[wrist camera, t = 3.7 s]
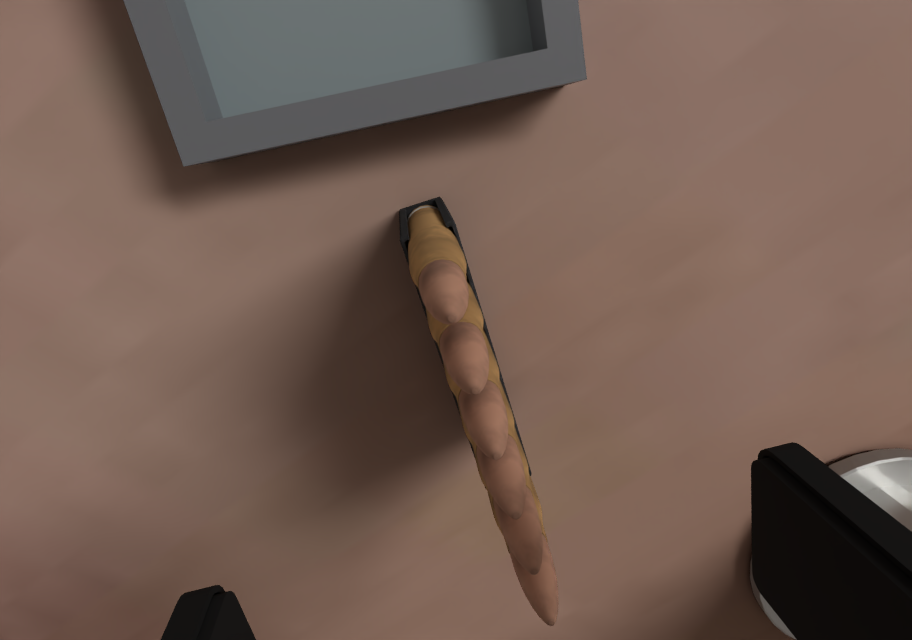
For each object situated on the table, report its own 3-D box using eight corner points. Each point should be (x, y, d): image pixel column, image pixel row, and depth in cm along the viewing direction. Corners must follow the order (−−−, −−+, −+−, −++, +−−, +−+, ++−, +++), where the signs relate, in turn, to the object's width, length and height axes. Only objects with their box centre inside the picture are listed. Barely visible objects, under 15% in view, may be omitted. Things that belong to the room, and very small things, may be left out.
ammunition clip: (397, 209, 22) (392, 290, 11) (441, 195, 22) (482, 260, 11) (471, 428, 26) (526, 660, 14) (509, 416, 26) (593, 638, 14)
